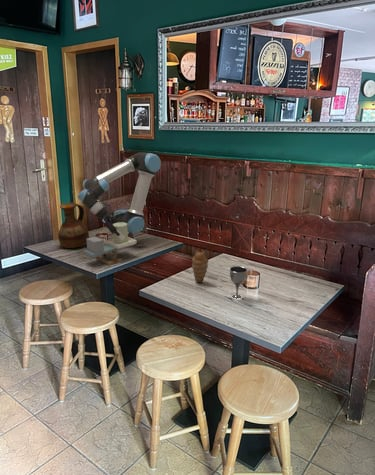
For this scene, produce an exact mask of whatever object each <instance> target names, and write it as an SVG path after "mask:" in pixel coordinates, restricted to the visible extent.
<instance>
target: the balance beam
mask: <svg viewBox="0 0 375 475" xmlns="http://www.w3.org/2000/svg"><path fill="white" fill-rule="evenodd" d="M86 240H87V243H86V247H87V249H84V250H83V253H84V254H86V255H87V256H90V257H92V258H93V257H94V258H96V256H100V255H102V254H105V253H106V254H107V253H112V250H116V251H119V250H121V249H125V248H128V247H132V246H135V245H136V244H137V239H135V238H134V239H132V238H129V237H128V242H127V243H123V244H115V243H114V238H113V237H112V238H109V239H106V240H104V239H102V238H100V237H98V236H92V237H89V238H87V239H86Z"/></svg>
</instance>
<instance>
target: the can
mask: <svg viewBox="0 0 375 475" xmlns="http://www.w3.org/2000/svg"><path fill="white" fill-rule="evenodd" d="M113 225H114V227H115V228H116V230H118V231H119V232H120V233H121V234H122V235H123V236H124V237H125V238H124V239H123V240H121V239H120V238H119V237H118V236H117V235H116V234H115V233H114V234H112V235H113V236H114V243H115V244H123V243H127V242H128V230H127V223H124V222H119V223H114V224H113Z"/></svg>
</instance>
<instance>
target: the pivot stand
mask: <svg viewBox="0 0 375 475" xmlns="http://www.w3.org/2000/svg"><path fill="white" fill-rule="evenodd" d="M117 251H118V250H112V252H109V253H105V254H102V255H98V256H95V259H96V260H97V261H100V262H102V263H103V264H106V265H108V266H113V265H115V264H119V263H122V262H124V259H123V258H121V257H119V256H117Z"/></svg>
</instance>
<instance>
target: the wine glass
mask: <svg viewBox="0 0 375 475" xmlns="http://www.w3.org/2000/svg"><path fill="white" fill-rule="evenodd" d="M247 272H248V271H247V267H244V266H238V265H235V266H231V267H230V269H229V277H230V281H231V282H232V284H234V286H235V289H236V290H235V291H236V292H235V294H236V295H233V294H232V295H233V296H232V297H233V298H236V299H237V298H241V296H240V295H241V294H239V288H240V286H241V285H242V284H243V283H244V282H245V281H246V277H247ZM238 294H239V295H238Z"/></svg>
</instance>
